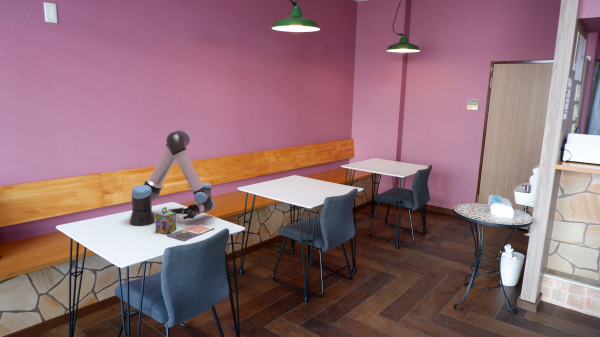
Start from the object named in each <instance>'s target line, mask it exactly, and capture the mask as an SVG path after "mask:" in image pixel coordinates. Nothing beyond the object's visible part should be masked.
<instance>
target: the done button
mask: <svg viewBox="0 0 600 337" xmlns="http://www.w3.org/2000/svg"><path fill="white" fill-rule="evenodd" d="M180 230H181V231H180ZM180 230H179V231H180V234H181V235H186V234H187V230H183V229H180Z"/></svg>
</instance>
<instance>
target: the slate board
mask: <svg viewBox="0 0 600 337" xmlns="http://www.w3.org/2000/svg"><path fill="white" fill-rule="evenodd" d="M181 230H187V234H186V235H181V234H180V231H181ZM214 230H215V228H214V227H212V226H207V225H204V224H201V223H200V224H199V223H198V224H194V225H192V226H188V227H186V228H183V229H180V230H177V231H173V232H171V233H170V234H166V237H167V236H168V238H172V239H174V238H175V240H178V241H181V242H185V241H188V240H191V239H193V238H196V237H198V236H201V235H202V234H206V233H208V232H211V231H214Z"/></svg>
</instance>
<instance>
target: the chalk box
mask: <svg viewBox="0 0 600 337" xmlns="http://www.w3.org/2000/svg"><path fill="white" fill-rule="evenodd" d="M161 210H162V211H160V212H157V213H155V215H154V217H155V222H154V223H155V233H156V234H166V235H169V234H171V233H174V232H176V230H177V214H176V212H170V211H169V210H168V209H167V207H166V206H165V207H163V208H162V209H161Z"/></svg>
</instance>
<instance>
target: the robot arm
mask: <svg viewBox="0 0 600 337" xmlns="http://www.w3.org/2000/svg"><path fill="white" fill-rule="evenodd" d="M190 141H191V138H190V135H189V133H188V132H187V131H185V130H182V129H181V130H180V129H178V130H175V131H172V132H171V133H168V135H167V137H166V141H165V142H166V144H165V147H166V149H165V151H164V153H163V154H162V156H161V158H160V159H159V161H158V163H157V165H156V166H155V168H154V169H153V171H152V173H151V174H150V177H148V178H146V179H145V181H144V183H143V184H141V185H136V186H134V187H133V188H132V189H131V208H132V212H131V214H130V219H129V224H130V225H131V226H137V227H138V226H140V227H142V226H149V225H152V224H154V223H155V215H154V212H153V210H152V208H153V206H152V202H154V200H157V199H158V197H160V194H161V190H162V189H163V182H164V181H165V179H166V177H167V175H168V174H169V172H170V171H171V168H172V167H173V165H174V163H176V162H177V164H178V166H179V168H180V170H181V172H182V174H183V176H184V178H185V180H186V181H187V184H188V185H189V187H190V189H191V192H192V193H193V195H194V198H193V199H194V201H195V203H192V204H190V205H188V206H187V207H185V208H184V207H180V208H179V207H177V208H170V209H168V211H170V212H176V215H180V216H178V222H182V221H185V220H189V219H191V220H193V219H194V218H195V217H196V216H199V215H200V214H203V213H206V212H210V211H211V210H214V208H215V202H214V200H213V199H212V184H211V183H208V182H203V183H202V181H201V179H200V177H199V175H198V173H197V171H196V169H195V167H194V165H193V163H192V161H191V159H190V157H189V155H188V153H187V147H188V145H189V144H190ZM175 161H176V162H175Z"/></svg>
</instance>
